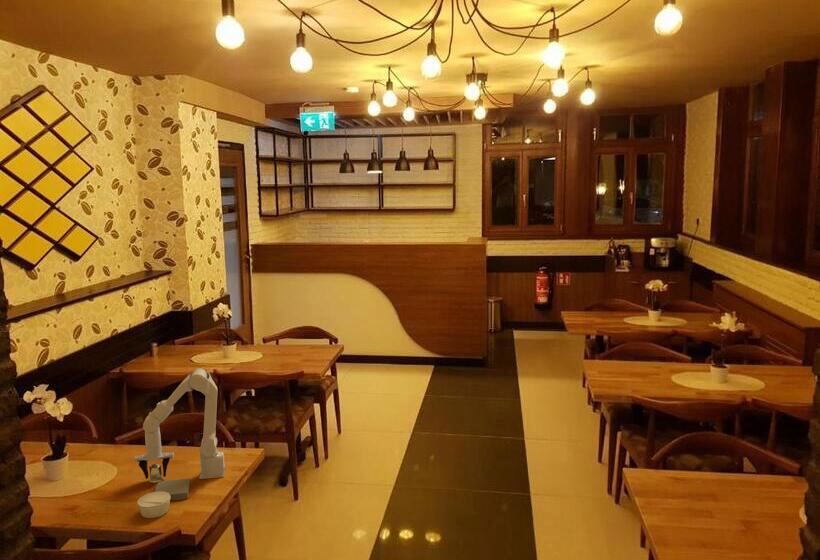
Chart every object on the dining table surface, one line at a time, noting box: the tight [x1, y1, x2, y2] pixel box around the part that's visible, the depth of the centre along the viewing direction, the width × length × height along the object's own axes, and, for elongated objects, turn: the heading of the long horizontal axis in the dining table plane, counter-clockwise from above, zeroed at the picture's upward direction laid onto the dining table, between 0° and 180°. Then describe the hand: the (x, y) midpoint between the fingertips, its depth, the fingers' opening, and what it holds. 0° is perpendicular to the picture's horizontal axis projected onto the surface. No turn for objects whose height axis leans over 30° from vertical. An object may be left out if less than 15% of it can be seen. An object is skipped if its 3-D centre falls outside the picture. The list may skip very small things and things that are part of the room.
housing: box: [148, 463, 164, 484], centre depth 257 cm, size 5×5×7 cm
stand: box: [154, 477, 192, 502], centre depth 247 cm, size 12×12×2 cm
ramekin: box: [136, 491, 171, 519], centre depth 233 cm, size 11×11×5 cm
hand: (155, 476), depth 258 cm, fingers open, 6 cm apart
